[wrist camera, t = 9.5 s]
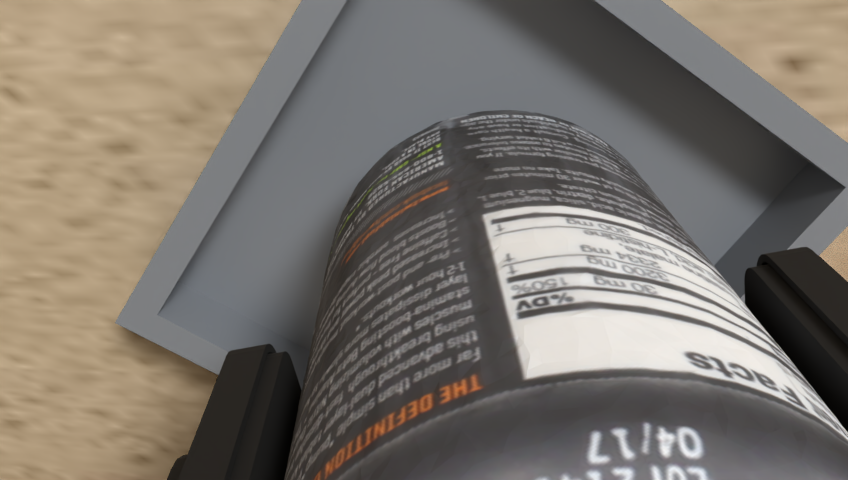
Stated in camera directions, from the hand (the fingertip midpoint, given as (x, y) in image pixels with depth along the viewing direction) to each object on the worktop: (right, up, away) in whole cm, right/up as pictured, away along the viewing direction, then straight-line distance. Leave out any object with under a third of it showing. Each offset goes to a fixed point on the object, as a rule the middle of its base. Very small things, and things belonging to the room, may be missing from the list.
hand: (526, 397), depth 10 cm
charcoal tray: (0, +3, +6) cm, 6 cm away
